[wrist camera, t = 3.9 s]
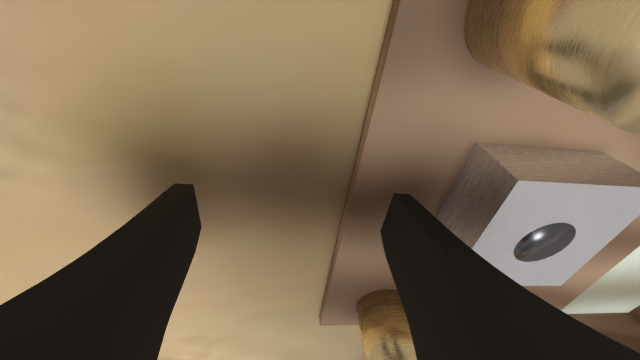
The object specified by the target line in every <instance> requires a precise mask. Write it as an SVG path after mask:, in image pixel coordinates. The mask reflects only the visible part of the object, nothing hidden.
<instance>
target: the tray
mask: <svg viewBox="0 0 640 360" xmlns="http://www.w3.org/2000/svg"><path fill="white" fill-rule="evenodd" d="M468 3H469V0H394V1H393V5H392V10H391V14H390V18H389V22H388V27H387V31H386V35H385V39H384V44H383V48H382V52H381V56H380V61H379V65H378V69H377V73H376V78H375V82H374V86H373V90H372V95H371V99H370V103H369V107H368V112H367V116H366V120H365V124H364V129H363V133H362V137H361V141H360V146H359V150H358V154H357V158H356V163H355V167H354V171H353V175H352V180H351V184H350V188H349V192H348V197H347V201H346V205H345V209H344V214H343V218H342V222H341V226H340V231H339V235H338V239H337V243H336V248H335V252H334V256H333V260H332V265H331V269H330V273H329V277H328V282H327V286H326V290H325V294H324V299H323V303H322V307H321V311H320V316H319V318H320V325H359V322H358V317H357V312H356V304H357V302H358V301H359V300H360V299H361V298H362V297H363V296H365V295H367V294H369V293H371V292H374V291H378V290H385V289H393V290H397V288H396V285H395V282H394V280H393V277H392V274H391V271H390V268H389V265H388V262H387V259H386V256H385V252H384V247H383V243H382V237H381V232H380V230H381V228H382V225H383V222H384V219H385V216H386V214H387V211H388V208H389V205H390V203H391V200H392V197H393V194H394V193H399V194H410V195H411V196H412V197H413V198H415V199H416V200H417V201H418V202H419V203H420V204H421V205H422V206H424V207H425V208H426V209H427V210H428V211H429V212H430V213H431V214H432V215H433V216H435V217H436V218H437V217H438V215H439V213H440V211H441V209H442V207H443V205H444V203H445V201H446V199H447V197H448V196H449V194H450V192H451V190H452V188H453V186H454V184H455V182H456V180H457V178H458V176H459V174H460V172H461V170H462V168H463V167H464V165H465V163H466V161H467V159H468V157H469V155H470V153H471V151H472V149H473V147H474V145H475V143H476V142H482V143H496V144H509V145H522V146H536V147H549V148H563V149H576V150H590V151H603V152H605V153H607V154H608V155H610V156H612V157H614V158H615V159H617V160H619V161H621V162H623V163H624V164H626V165H628V166H630V167H631V168H633V169H635V170H637V171H638V172H640V134H636V133H630V132H627V131H624V130H621V129H619V128H617V127H615V126H613V125H611V124H608V123H606V122H604V121H602V120H600V119H598V118H596V117H593V116H591V115H589V114H587V113H585V112H583V111H581V110H579V109H576V108H574V107H572V106H570V105H568V104H566V103H564V102H562V101H559V100H557V99H555V98H553V97H551V96H549V95H547V94H544V93H542V92H540V91H538V90H536V89H534V88H532V87H530V86H527V85H525V84H523V83H521V82H519V81H517V80H515V79H513V78H510V77H508V76H506V75H504V74H502V73H500V72H498V71H495V70H493V69H491V68H489V67H487V66H485V65H483V64H481V63H479V62H478V61H477V60H476V59H474V58H473V56H472V55H471V54H470V52H469V50H468V48H467V45H466V42H465V37H464V20H465V14H466V10H467V6H468ZM523 287H524V288H526V289H527V290H529V291H530V292H532V293H534V294H535V295H537V296H538V297H540V298H541V299H543V300H545V301H546V302H548V303H549V304H551V305H553V306H554V307H556V308H558V309H559V310H561V311H563V312H564V313H566V314H568V315H569V316H571V317H573V318H575V319H576V320H578V321H580V322H582V323H584V324H585V325H587V326H589V327H591V328H592V329H594V330H596V331H598V332H600V333H601V334H603V335H605V336H607V337H609V338H611V339H613V340H615V341H617V342H619V343H621V344H623V345H625V346H627V347H629V348H631V349H633V350H634V351H636V352H638V353H640V215H639V216H638V217H637V218H636V219H634V220H633V221H632V222H631V223H630V224H629V225H628V226H627V227H626V228H624V229H623V230H622V231H621V232H620V233H619V234H618V235H617V236H616V237H615V238H613V239H612V240H611V241H610V242H609V243H608V244H607V245H606V246H605V247H603V248H602V249H601V250H600V251H599V252H598V253H597V254H596V255H595V256H593V257H592V258H591V259H590V260H589V261H588V262H587V263H586V264H585V265H583V266H582V267H581V268H580V269H579V270H578V271H577V272H576V273H575V274H573V275H572V276H571V277H570V278H569V279H568V280H567V281H566V282H565V283H563V284H562V285H561V286H523Z"/></svg>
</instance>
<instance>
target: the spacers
mask: <svg viewBox="0 0 640 360" xmlns="http://www.w3.org/2000/svg"><path fill="white" fill-rule="evenodd" d="M464 37H465V42H466V45H467V48H468V50H469V52H470V54H471V55H472V56H473V58H474V59H476V60H477V61H478V62H479V63H481V64H483V65H485V66H487V67H489V68H491V69H493V70H495V71H498V72H500V73H502V74H504V75H506V76H508V77H510V78H513V79H515V80H517V81H519V82H521V83H523V84H525V85H527V86H530V87H532V88H534V89H536V90H538V91H540V92H542V93H544V94H547V95H549V96H551V97H553V98H555V99H557V100H559V101H562V102H564V103H566V104H568V105H570V106H572V107H574V108H576V109H579V110H581V111H583V112H585V113H587V114H589V115H591V116H593V117H596V118H598V119H600V120H602V121H604V122H606V123H608V124H611V125H613V126H615V127H617V128H619V129H621V130H624V131H627V132H630V133H636V134H640V0H469V3H468V6H467V10H466V14H465V20H464ZM356 312H357V317H358V322H359V328H360V333H361V338H362V343H363V349H364V354H365V359H366V360H417V357H416V353H415V349H414V345H413V340H412V336H411V332H410V328H409V324H408V321H407V317H406V314H405V311H404V308H403V305H402V302H401V299H400V297H399V294H398V291H397V290H393V289H385V290H378V291H374V292H371V293H369V294H367V295H365V296H363V297H362V298H361V299H360V300H359V301H358V302H357V304H356Z"/></svg>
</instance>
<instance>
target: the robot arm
mask: <svg viewBox="0 0 640 360" xmlns="http://www.w3.org/2000/svg"><path fill="white" fill-rule="evenodd" d="M200 230H201V222H200V217H199V212H198V207H197V201H196V196H195V191H194V186H193V184H173V185H172V186H171V187H170V188H168V189H167V190H166V191H165V192H164V193H162V194H161V195H160V196H159V197H158V198H156V199H155V200H154V201H153V202H152V203H150V204H149V205H148V206H147V207H146V208H144V209H143V210H142V211H141V212H140V213H138V214H137V215H136V216H135V217H133V218H132V219H131V220H130V221H128V222H127V223H126V224H125V225H123V226H122V227H121V228H119V229H118V230H117V231H115V232H114V233H113V234H111V235H110V236H108V237H107V238H106V239H104V240H103V241H102V242H100V243H99V244H98V245H96V246H95V247H94V248H92V249H91V250H89V251H88V252H87V253H85V254H84V255H82V256H81V257H79V258H78V259H76V260H75V261H73V262H72V263H70V264H69V265H67V266H65V267H64V268H62V269H61V270H59V271H58V272H56V273H54V274H53V275H51V276H50V277H48V278H47V279H45V280H43V281H42V282H40V283H38V284H37V285H35V286H33V287H31V288H30V289H28V290H26V291H24V292H23V293H21V294H19V295H17V296H16V297H14V298H12V299H10V300H9V301H7V302H5V303H3V304H2V305H0V360H157V358H158V355H159V351H160V348H161V344H162V341H163V337H164V333H165V330H166V327H167V324H168V321H169V318H170V316H171V313H172V310H173V308H174V305H175V303H176V300H177V298H178V295H179V293H180V290H181V288H182V285H183V282H184V280H185V277H186V275H187V272H188V270H189V267H190V264H191V262H192V259H193V257H194V254H195V251H196V247H197V243H198V239H199V235H200ZM380 232H381V237H382V243H383V247H384V252H385V256H386V259H387V262H388V265H389V268H390V271H391V274H392V277H393V280H394V282H395V285H396V288H397V291H398V294H399V297H400V299H401V302H402V305H403V308H404V311H405V314H406V317H407V321H408V324H409V328H410V332H411V336H412V340H413V345H414V349H415V353H416V357H417V360H640V353H638V352H636V351H634V350H633V349H631V348H629V347H627V346H625V345H623V344H621V343H619V342H617V341H615V340H613V339H611V338H609V337H607V336H605V335H603V334H601V333H600V332H598V331H596V330H594V329H592V328H591V327H589V326H587V325H585V324H584V323H582V322H580V321H578V320H576V319H575V318H573V317H571V316H569V315H568V314H566V313H564V312H563V311H561V310H559V309H558V308H556V307H554V306H553V305H551V304H549V303H548V302H546V301H545V300H543V299H541V298H540V297H538V296H537V295H535V294H534V293H532V292H530V291H529V290H527V289H526V288H524V287H523V286H521V285H520V284H518V283H517V282H515V281H514V280H512V279H511V278H510V277H508V276H507V275H505V274H504V273H503V272H501V271H500V270H498V269H497V268H496V267H494V266H493V265H492V264H490V263H489V262H488V261H486V260H485V259H484V258H482V257H481V256H480V255H479V254H477V253H476V252H475V251H474V250H472V249H471V248H470V247H469V246H468V245H466V244H465V243H464V242H463V241H462V240H460V239H459V238H458V237H457V236H456V235H455V234H453V233H452V232H451V231H450V230H449V229H448V228H447V227H446V226H444V225H443V224H442V223H441V222H440V221H439V220H438V219H437V218H436V217H435V216H433V215H432V214H431V213H430V212H429V211H428V210H427V209H426V208H425V207H424V206H422V205H421V204H420V203H419V202H418V201H417V200H416V199H415V198H413V197H412V196H411V195H410V194H399V193H394V194H393V197H392V200H391V203H390V205H389V208H388V211H387V214H386V216H385V219H384V222H383V225H382V228H381V230H380Z"/></svg>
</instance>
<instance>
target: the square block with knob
mask: <svg viewBox="0 0 640 360" xmlns="http://www.w3.org/2000/svg"><path fill="white" fill-rule="evenodd" d="M639 215H640V172H638V171H637V170H635V169H633V168H631V167H630V166H628V165H626V164H624V163H623V162H621V161H619V160H617V159H615V158H614V157H612V156H610V155H608V154H607V153H605V152H603V151H590V150H576V149H563V148H549V147H536V146H522V145H509V144H496V143H482V142H476V143H475V145H474V147H473V149H472V151H471V153H470V155H469V157H468V159H467V161H466V163H465V165H464V167H463V168H462V170H461V172H460V174H459V176H458V178H457V180H456V182H455V184H454V186H453V188H452V190H451V192H450V194H449V196H448V197H447V199H446V201H445V203H444V205H443V207H442V209H441V211H440V213H439V215H438V217H437V219H438V220H439V221H440V222H441V223H442V224H443V225H444V226H446V227H447V228H448V229H449V230H450V231H451V232H452V233H453V234H455V235H456V236H457V237H458V238H459V239H460V240H462V241H463V242H464V243H465V244H466V245H468V246H469V247H470V248H471V249H472V250H474V251H475V252H476V253H477V254H479V255H480V256H481V257H482V258H484V259H485V260H486V261H488V262H489V263H490V264H492V265H493V266H494V267H496V268H497V269H498V270H500V271H501V272H503V273H504V274H505V275H507V276H508V277H510V278H511V279H512V280H514V281H515V282H517V283H518V284H520V285H521V286H561V285H562V284H563V283H565V282H566V281H567V280H568V279H569V278H570V277H571V276H572V275H573V274H575V273H576V272H577V271H578V270H579V269H580V268H581V267H582V266H583V265H585V264H586V263H587V262H588V261H589V260H590V259H591V258H592V257H593V256H595V255H596V254H597V253H598V252H599V251H600V250H601V249H602V248H603V247H605V246H606V245H607V244H608V243H609V242H610V241H611V240H612V239H613V238H615V237H616V236H617V235H618V234H619V233H620V232H621V231H622V230H623V229H624V228H626V227H627V226H628V225H629V224H630V223H631V222H632V221H633V220H634V219H636V218H637V217H638V216H639Z"/></svg>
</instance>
